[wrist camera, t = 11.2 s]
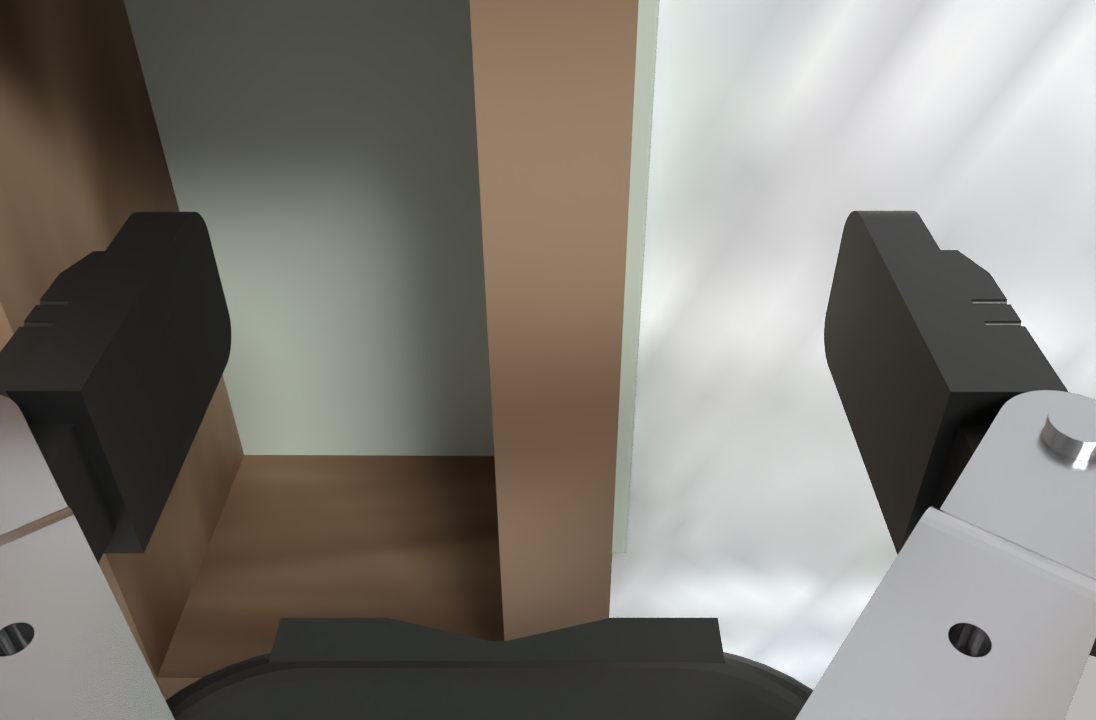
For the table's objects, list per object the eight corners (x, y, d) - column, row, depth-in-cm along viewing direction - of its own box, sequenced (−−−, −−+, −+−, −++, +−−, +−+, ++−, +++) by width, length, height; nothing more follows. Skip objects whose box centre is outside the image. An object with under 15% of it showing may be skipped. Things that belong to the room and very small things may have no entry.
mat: (-151, -317, 14) (-171, -315, 14) (675, -325, 14) (679, -323, 13) (158, 535, 25) (152, 550, 24) (625, 538, 25) (625, 553, 24)
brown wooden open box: (-74, -274, 14) (-407, -226, 9) (620, -280, 14) (650, -233, 9) (184, 509, 24) (88, 732, 19) (595, 511, 23) (602, 737, 19)
